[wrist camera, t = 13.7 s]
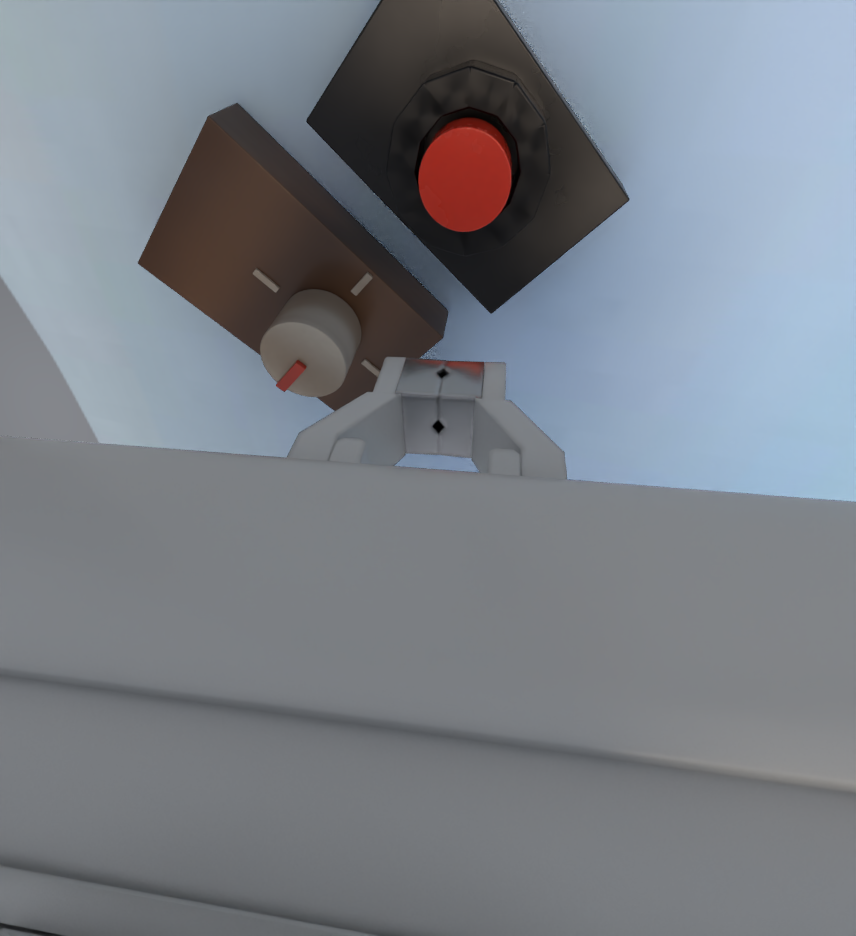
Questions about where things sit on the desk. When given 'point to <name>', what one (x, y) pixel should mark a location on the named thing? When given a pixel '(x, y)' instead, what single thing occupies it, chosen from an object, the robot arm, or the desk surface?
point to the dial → (311, 343)
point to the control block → (459, 96)
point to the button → (465, 175)
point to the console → (281, 251)
